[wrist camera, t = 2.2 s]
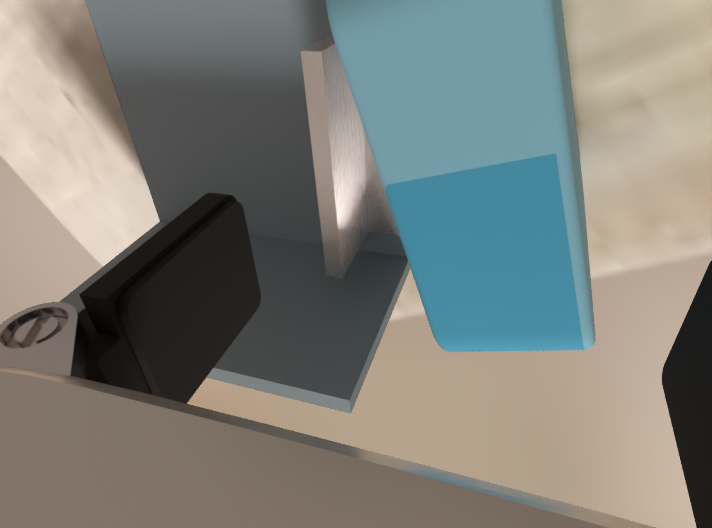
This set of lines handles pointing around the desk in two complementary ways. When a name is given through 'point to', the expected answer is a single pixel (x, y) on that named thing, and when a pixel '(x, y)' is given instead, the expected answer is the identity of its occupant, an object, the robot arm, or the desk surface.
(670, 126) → the desk surface
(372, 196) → the bookend
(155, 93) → the l-shaped stand
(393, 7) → the data package
